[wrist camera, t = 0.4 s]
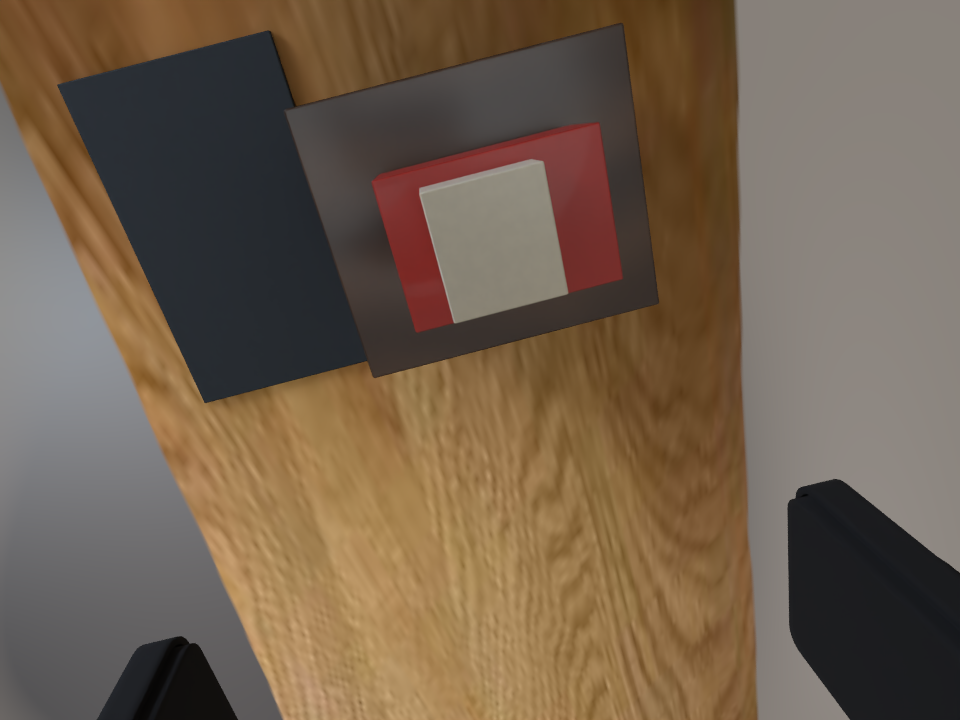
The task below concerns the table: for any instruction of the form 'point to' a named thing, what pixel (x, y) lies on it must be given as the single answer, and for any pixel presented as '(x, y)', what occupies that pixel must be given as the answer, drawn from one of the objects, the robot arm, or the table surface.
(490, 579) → the table surface
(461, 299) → the red and white block
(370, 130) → the shelf
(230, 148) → the mat
